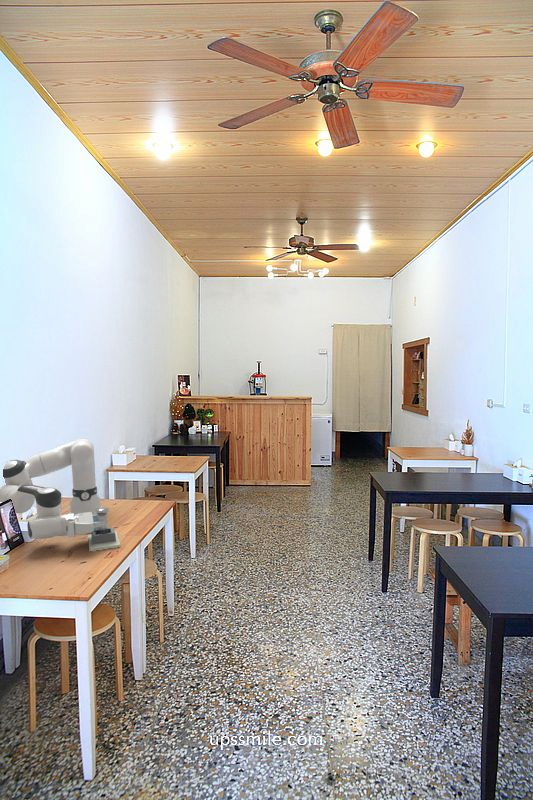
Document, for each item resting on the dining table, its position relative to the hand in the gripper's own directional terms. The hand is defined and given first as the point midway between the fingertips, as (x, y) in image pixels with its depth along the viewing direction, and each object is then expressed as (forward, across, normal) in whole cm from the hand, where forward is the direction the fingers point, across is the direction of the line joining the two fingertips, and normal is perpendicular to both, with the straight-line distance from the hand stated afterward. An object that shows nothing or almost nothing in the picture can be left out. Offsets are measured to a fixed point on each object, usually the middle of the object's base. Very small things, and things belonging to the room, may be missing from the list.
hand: (104, 519), depth 215 cm
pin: (-1, 0, -8) cm, 9 cm away
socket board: (-1, 0, -10) cm, 10 cm away
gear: (-4, -21, -10) cm, 23 cm away
